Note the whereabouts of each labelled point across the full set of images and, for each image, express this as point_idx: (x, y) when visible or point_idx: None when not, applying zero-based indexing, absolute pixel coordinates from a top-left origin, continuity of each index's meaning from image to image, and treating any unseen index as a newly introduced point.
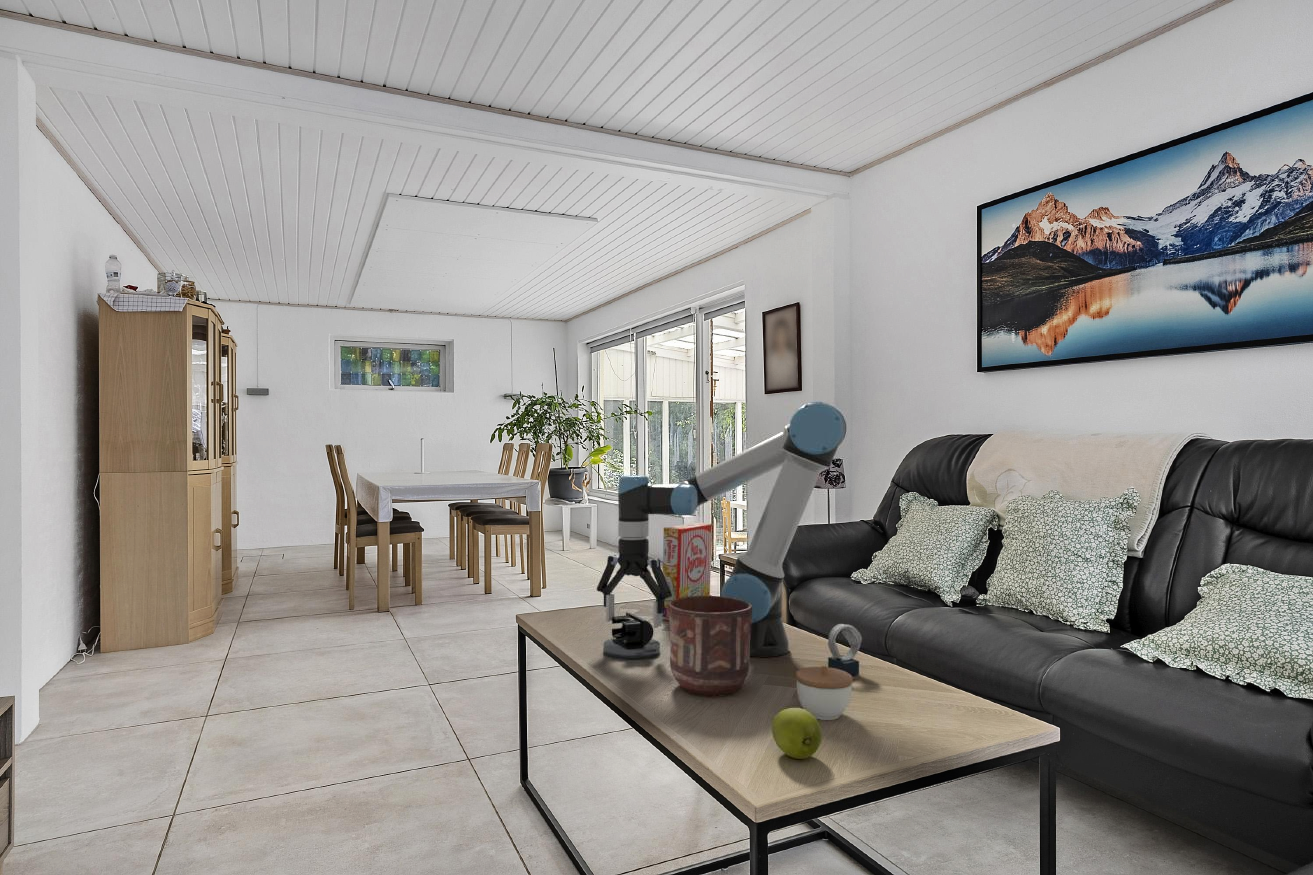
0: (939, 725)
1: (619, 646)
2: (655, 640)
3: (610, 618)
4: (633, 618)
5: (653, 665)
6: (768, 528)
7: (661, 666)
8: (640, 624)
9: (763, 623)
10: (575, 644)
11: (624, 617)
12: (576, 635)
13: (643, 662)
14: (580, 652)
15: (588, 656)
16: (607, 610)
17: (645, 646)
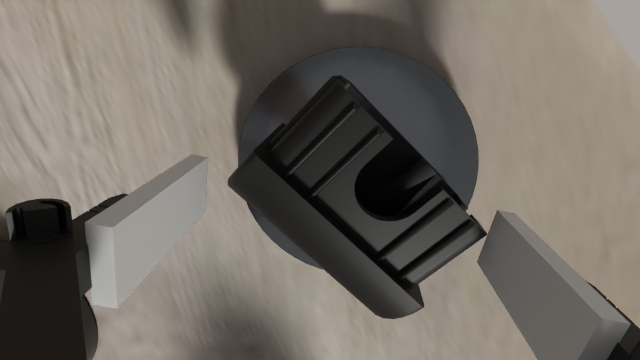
0: None
1: (389, 112)
2: (283, 246)
3: (496, 234)
4: (350, 233)
5: (205, 14)
6: None
7: (172, 14)
8: (275, 149)
9: None
10: (611, 182)
11: (406, 232)
12: (632, 296)
13: (257, 39)
14: (561, 76)
15: (509, 30)
16: (538, 243)
17: None
